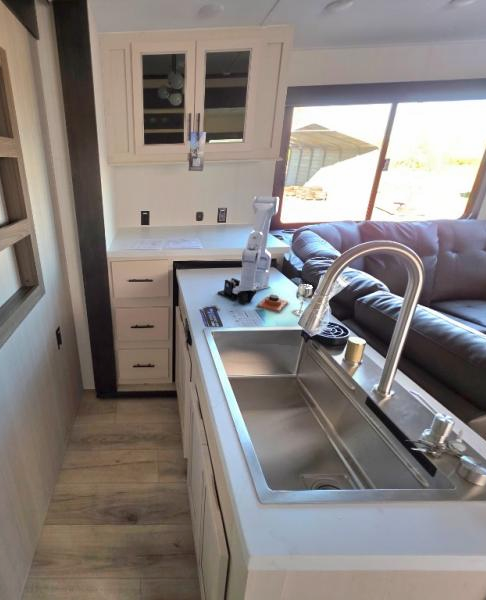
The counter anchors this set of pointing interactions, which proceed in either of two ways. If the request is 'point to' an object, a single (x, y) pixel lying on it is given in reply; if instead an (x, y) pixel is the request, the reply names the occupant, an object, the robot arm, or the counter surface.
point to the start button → (273, 298)
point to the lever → (236, 286)
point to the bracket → (229, 290)
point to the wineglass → (303, 295)
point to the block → (272, 304)
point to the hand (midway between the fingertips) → (244, 305)
